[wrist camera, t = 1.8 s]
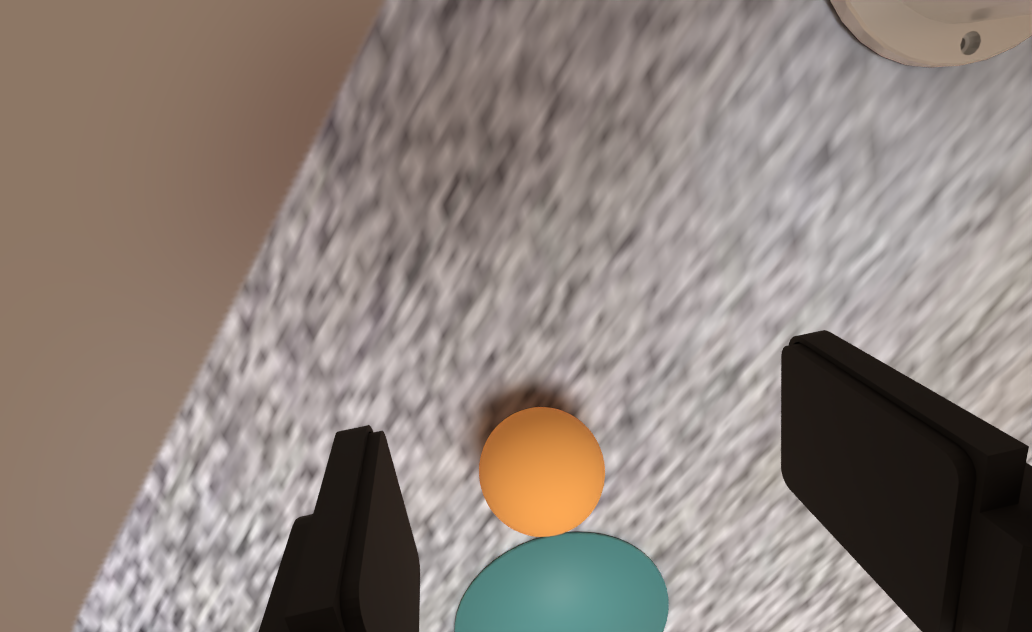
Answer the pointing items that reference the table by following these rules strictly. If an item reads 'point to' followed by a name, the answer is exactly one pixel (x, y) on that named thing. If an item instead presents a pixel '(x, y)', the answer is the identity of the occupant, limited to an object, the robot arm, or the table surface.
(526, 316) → the table surface
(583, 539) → the disc
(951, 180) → the table surface
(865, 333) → the table surface
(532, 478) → the ball
